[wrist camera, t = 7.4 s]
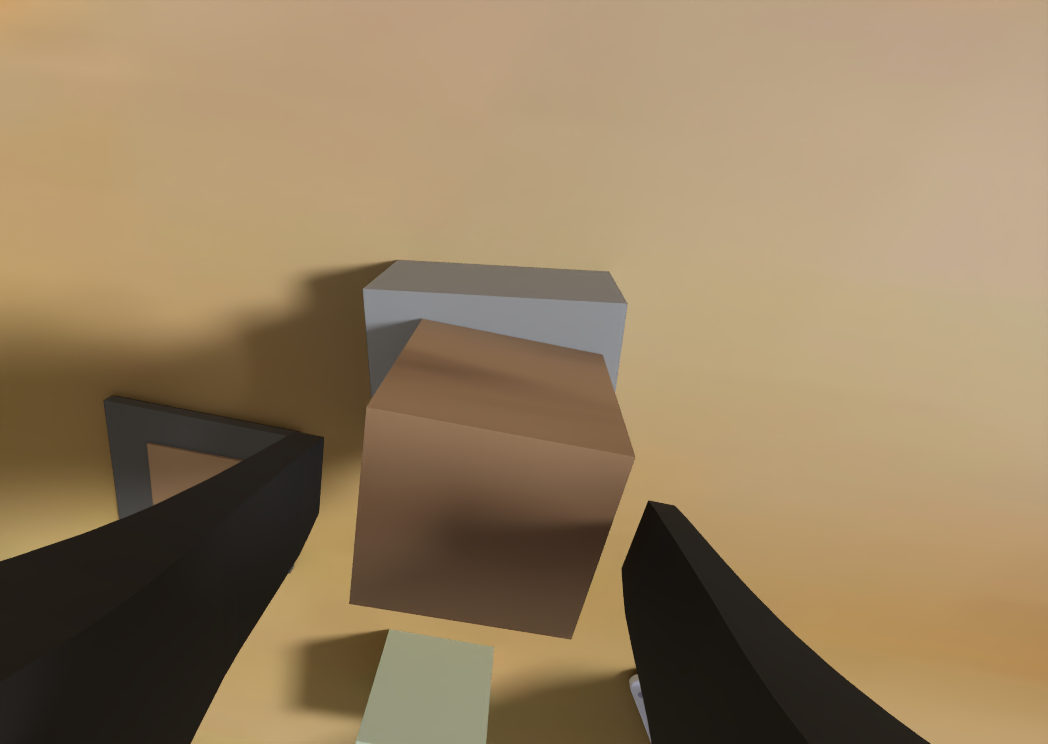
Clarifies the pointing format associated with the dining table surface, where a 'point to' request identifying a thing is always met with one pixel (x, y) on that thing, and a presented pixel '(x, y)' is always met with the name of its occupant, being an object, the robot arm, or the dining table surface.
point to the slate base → (493, 308)
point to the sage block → (429, 692)
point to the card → (174, 449)
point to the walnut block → (488, 481)
